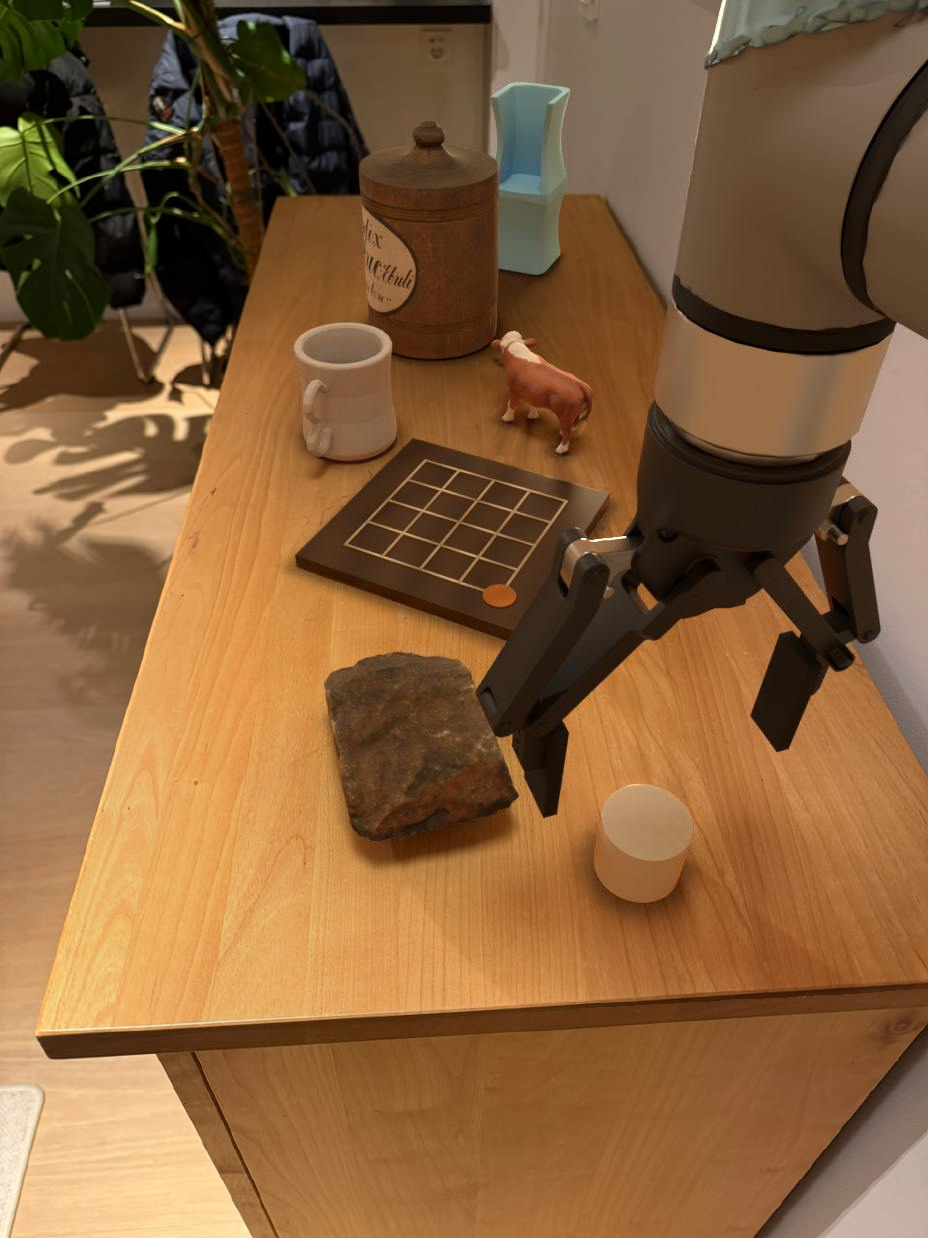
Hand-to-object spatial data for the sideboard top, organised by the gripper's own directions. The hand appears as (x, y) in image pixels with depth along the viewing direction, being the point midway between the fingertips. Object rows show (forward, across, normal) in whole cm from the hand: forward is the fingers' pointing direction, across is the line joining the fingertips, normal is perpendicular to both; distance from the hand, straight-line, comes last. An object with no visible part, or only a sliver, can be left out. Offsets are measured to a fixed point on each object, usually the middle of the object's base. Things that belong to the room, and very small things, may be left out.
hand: (658, 763), depth 49 cm
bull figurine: (+10, -13, -48) cm, 50 cm away
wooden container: (+10, -9, -71) cm, 72 cm away
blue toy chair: (+11, -27, -87) cm, 92 cm away
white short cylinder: (+10, 0, 0) cm, 10 cm away
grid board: (+10, 0, -34) cm, 35 cm away
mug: (+10, +6, -50) cm, 51 cm away
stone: (+10, +10, -11) cm, 18 cm away
